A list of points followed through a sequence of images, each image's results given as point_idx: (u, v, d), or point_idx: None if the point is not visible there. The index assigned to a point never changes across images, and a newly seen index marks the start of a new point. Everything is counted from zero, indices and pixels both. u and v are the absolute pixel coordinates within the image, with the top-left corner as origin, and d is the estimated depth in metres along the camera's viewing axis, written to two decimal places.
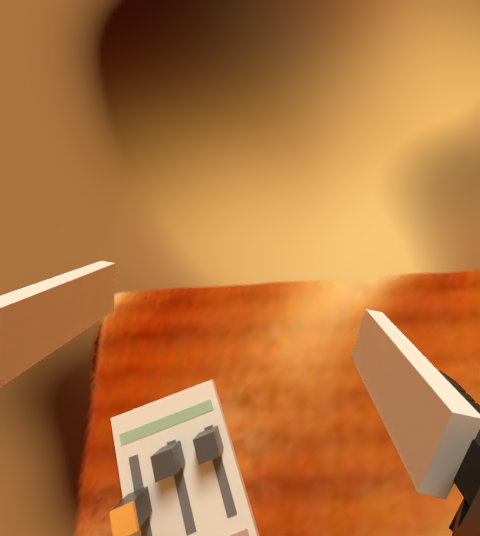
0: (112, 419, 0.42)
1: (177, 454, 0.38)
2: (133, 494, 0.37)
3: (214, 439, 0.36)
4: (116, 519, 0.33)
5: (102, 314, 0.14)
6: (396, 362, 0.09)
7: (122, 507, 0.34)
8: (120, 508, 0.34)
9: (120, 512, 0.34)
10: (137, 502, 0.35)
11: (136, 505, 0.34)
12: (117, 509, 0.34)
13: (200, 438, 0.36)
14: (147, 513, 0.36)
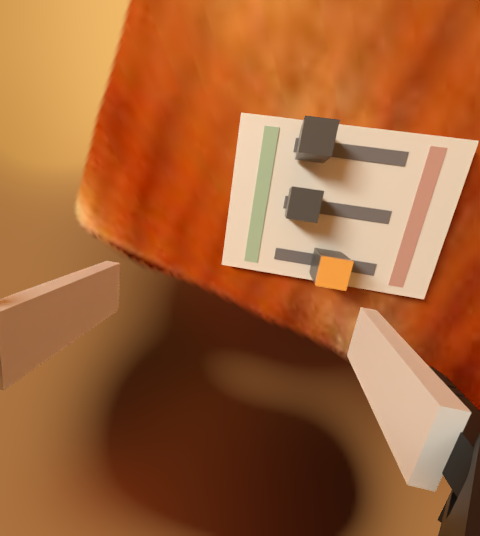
0: (224, 262, 0.33)
1: None
2: (313, 262, 0.30)
3: (315, 118, 0.23)
4: (327, 280, 0.26)
5: (108, 314, 0.14)
6: (389, 358, 0.10)
7: (319, 269, 0.26)
8: (319, 272, 0.26)
9: (322, 273, 0.26)
10: (324, 254, 0.27)
11: (327, 255, 0.26)
12: (318, 276, 0.26)
13: (302, 139, 0.24)
14: (340, 253, 0.29)
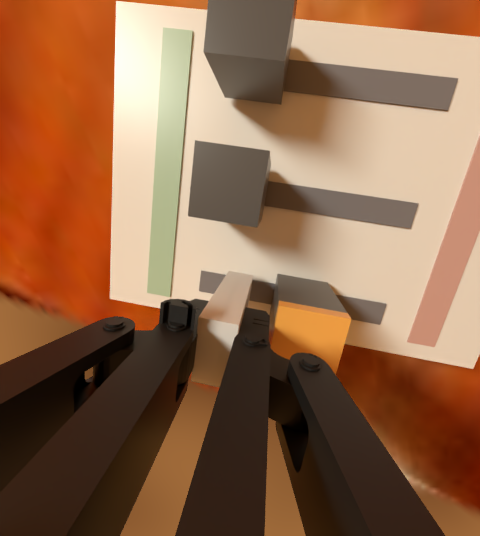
0: (113, 295, 0.18)
1: None
2: (272, 305, 0.15)
3: None
4: None
5: None
6: None
7: (274, 334, 0.12)
8: (274, 339, 0.12)
9: (282, 342, 0.12)
10: (287, 297, 0.12)
11: (293, 300, 0.12)
12: (272, 347, 0.12)
13: (211, 16, 0.09)
14: (325, 289, 0.14)
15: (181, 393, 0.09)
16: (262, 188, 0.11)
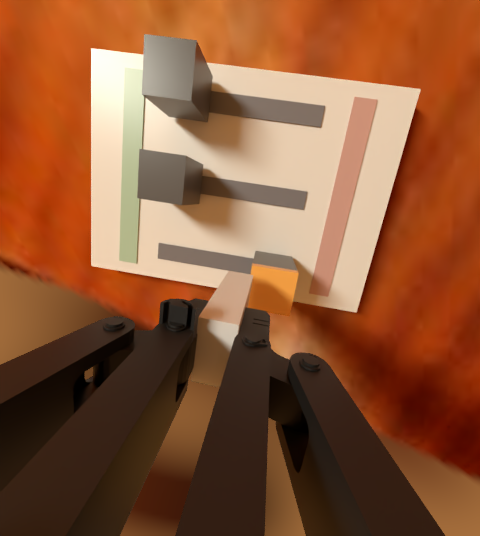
0: (94, 263, 0.24)
1: None
2: None
3: (160, 39, 0.15)
4: (261, 300, 0.18)
5: None
6: None
7: None
8: None
9: (254, 290, 0.17)
10: (259, 262, 0.18)
11: (262, 263, 0.18)
12: None
13: (145, 73, 0.15)
14: (288, 259, 0.20)
15: (181, 393, 0.09)
16: (183, 179, 0.17)
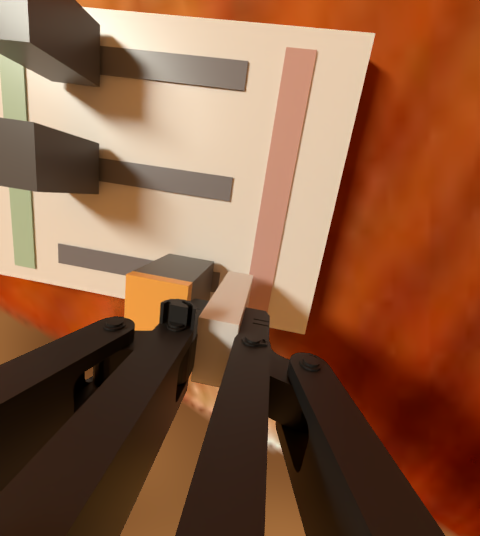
0: None
1: None
2: None
3: None
4: (144, 323, 0.13)
5: None
6: None
7: (126, 301, 0.13)
8: (126, 306, 0.13)
9: (133, 309, 0.13)
10: (146, 269, 0.13)
11: (149, 271, 0.13)
12: (126, 313, 0.13)
13: None
14: (201, 266, 0.15)
15: (181, 393, 0.09)
16: (34, 156, 0.12)
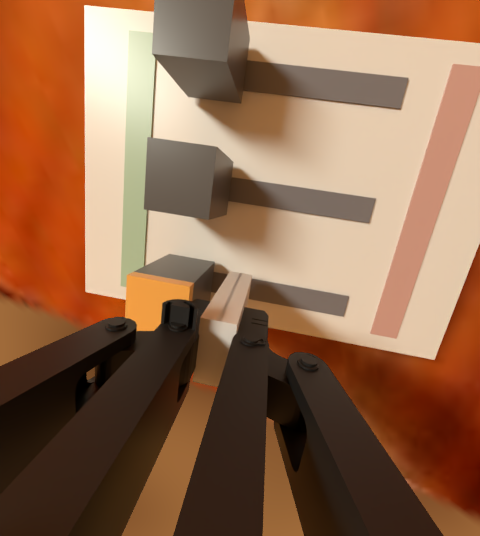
0: (89, 289, 0.19)
1: None
2: None
3: None
4: (145, 324, 0.13)
5: None
6: None
7: (127, 302, 0.13)
8: (127, 307, 0.13)
9: (134, 310, 0.13)
10: (147, 270, 0.13)
11: (150, 272, 0.13)
12: (127, 314, 0.13)
13: (157, 20, 0.10)
14: (202, 266, 0.15)
15: (182, 393, 0.09)
16: (211, 182, 0.11)
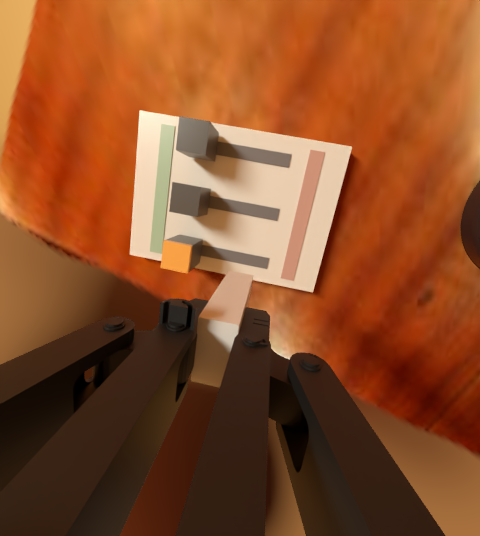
0: (131, 252, 0.35)
1: None
2: None
3: (188, 119, 0.25)
4: (170, 263, 0.28)
5: None
6: None
7: (162, 253, 0.28)
8: (162, 255, 0.28)
9: (165, 256, 0.28)
10: (171, 239, 0.29)
11: (172, 240, 0.29)
12: (162, 259, 0.28)
13: (178, 138, 0.26)
14: (196, 240, 0.31)
15: (181, 393, 0.09)
16: (198, 201, 0.27)
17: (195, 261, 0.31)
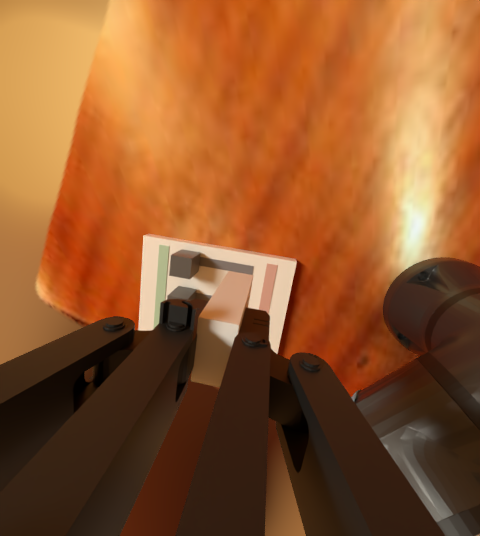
0: None
1: (180, 292, 0.40)
2: None
3: (177, 256, 0.37)
4: None
5: None
6: None
7: None
8: None
9: None
10: None
11: None
12: None
13: (170, 268, 0.37)
14: None
15: (181, 393, 0.09)
16: None
17: None
